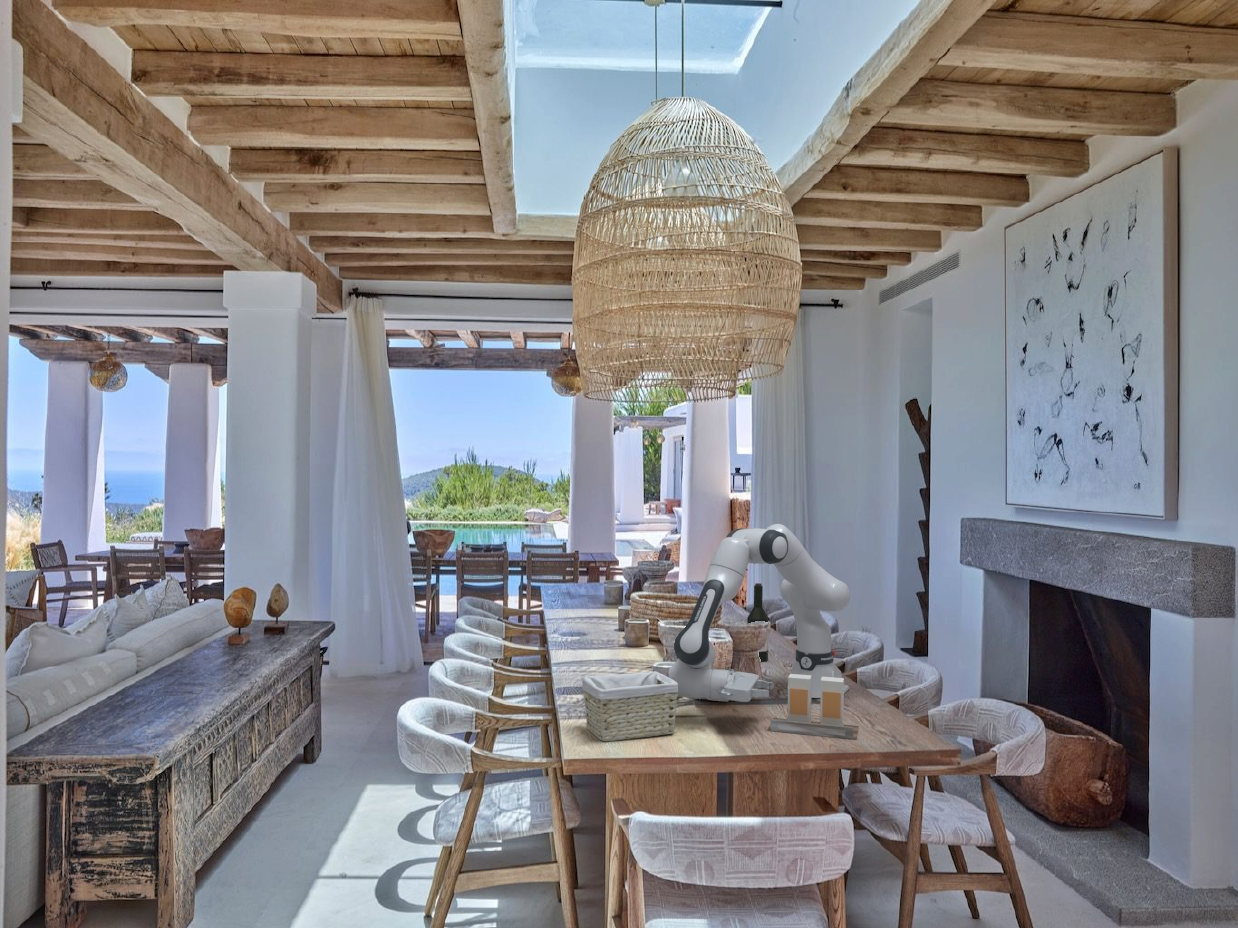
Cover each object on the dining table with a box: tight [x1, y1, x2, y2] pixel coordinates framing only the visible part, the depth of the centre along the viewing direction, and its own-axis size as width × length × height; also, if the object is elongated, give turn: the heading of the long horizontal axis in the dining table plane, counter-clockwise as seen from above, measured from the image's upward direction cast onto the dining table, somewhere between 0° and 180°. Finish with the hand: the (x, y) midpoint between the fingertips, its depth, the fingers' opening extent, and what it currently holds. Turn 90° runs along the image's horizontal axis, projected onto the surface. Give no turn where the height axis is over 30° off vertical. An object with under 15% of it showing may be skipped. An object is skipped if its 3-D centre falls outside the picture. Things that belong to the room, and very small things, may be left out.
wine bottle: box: [746, 583, 769, 663], centre depth 342 cm, size 8×8×30 cm
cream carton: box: [787, 673, 812, 723], centre depth 246 cm, size 5×6×14 cm
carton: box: [819, 677, 845, 726], centre depth 243 cm, size 5×6×14 cm
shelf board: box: [766, 717, 860, 741], centre depth 244 cm, size 14×24×4 cm, turn 72°
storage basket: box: [581, 671, 678, 742], centre depth 243 cm, size 24×16×15 cm
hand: (771, 689), depth 248 cm, fingers open, 8 cm apart
